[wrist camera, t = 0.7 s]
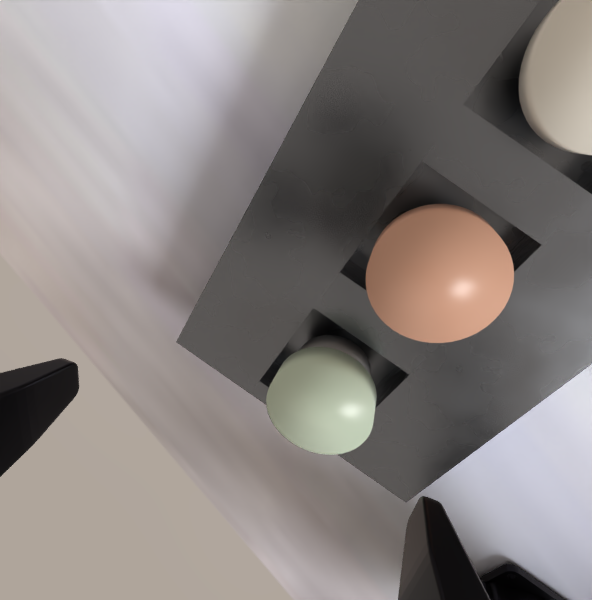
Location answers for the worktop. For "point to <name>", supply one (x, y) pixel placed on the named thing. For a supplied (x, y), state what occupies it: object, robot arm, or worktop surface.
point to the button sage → (324, 396)
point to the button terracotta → (439, 274)
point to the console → (392, 203)
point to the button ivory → (560, 77)
